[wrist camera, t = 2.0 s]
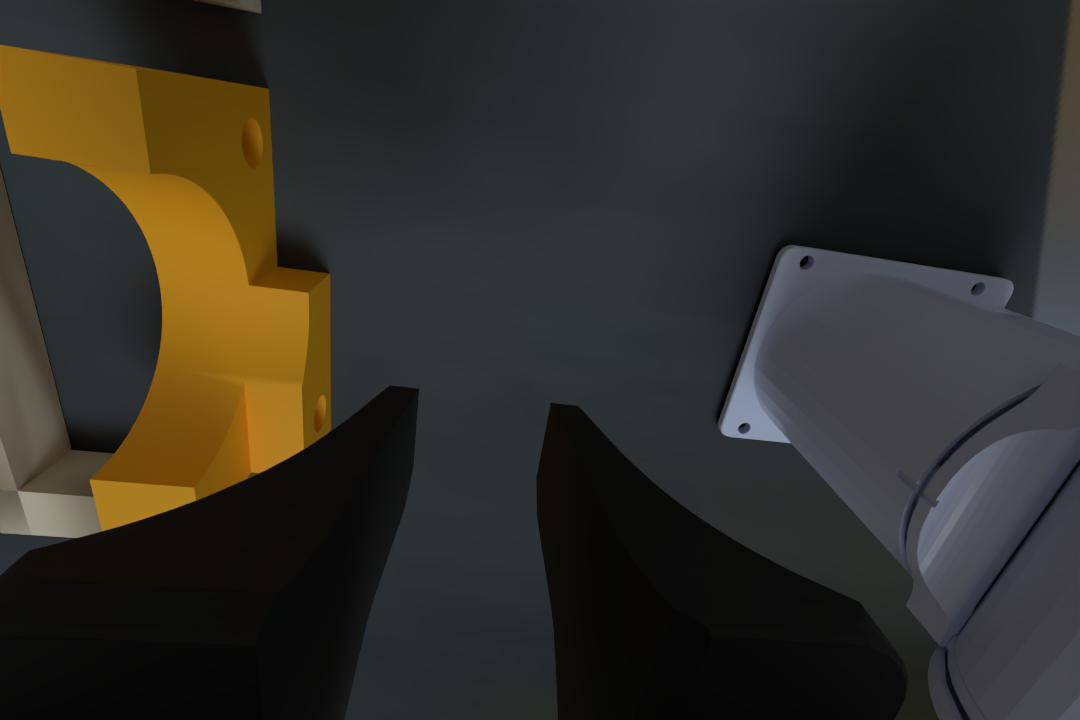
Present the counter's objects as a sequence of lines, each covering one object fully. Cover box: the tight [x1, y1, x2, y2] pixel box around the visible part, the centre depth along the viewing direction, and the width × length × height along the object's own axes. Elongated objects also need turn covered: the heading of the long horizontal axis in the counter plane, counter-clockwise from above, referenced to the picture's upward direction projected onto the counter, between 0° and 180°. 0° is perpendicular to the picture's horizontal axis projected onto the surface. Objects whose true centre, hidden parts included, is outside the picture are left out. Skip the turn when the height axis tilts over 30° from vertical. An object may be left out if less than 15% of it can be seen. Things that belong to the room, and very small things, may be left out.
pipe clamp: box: [0, 45, 331, 531], centre depth 15 cm, size 12×4×6 cm, turn 171°
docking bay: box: [0, 0, 262, 538], centre depth 16 cm, size 10×20×2 cm, turn 171°
